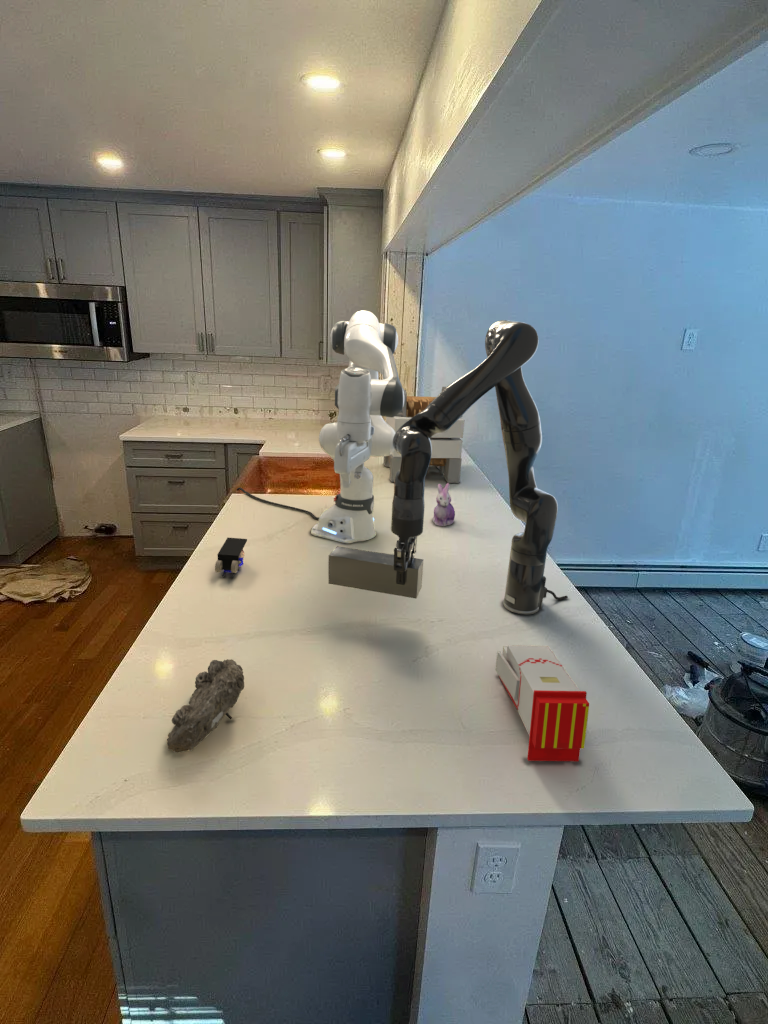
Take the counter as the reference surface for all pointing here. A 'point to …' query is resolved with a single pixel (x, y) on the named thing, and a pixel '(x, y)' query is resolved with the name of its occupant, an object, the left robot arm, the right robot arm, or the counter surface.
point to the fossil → (206, 705)
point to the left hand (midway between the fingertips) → (352, 482)
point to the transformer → (443, 444)
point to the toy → (545, 701)
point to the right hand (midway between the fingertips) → (404, 578)
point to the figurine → (443, 507)
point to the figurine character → (230, 556)
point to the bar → (373, 572)
